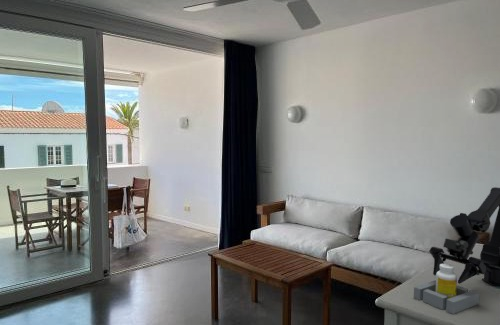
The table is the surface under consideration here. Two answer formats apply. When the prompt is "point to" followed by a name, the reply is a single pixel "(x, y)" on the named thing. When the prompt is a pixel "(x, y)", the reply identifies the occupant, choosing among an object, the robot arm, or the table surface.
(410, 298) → the table surface
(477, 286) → the table surface
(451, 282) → the supplement bottle
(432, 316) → the table surface
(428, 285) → the cup holder
